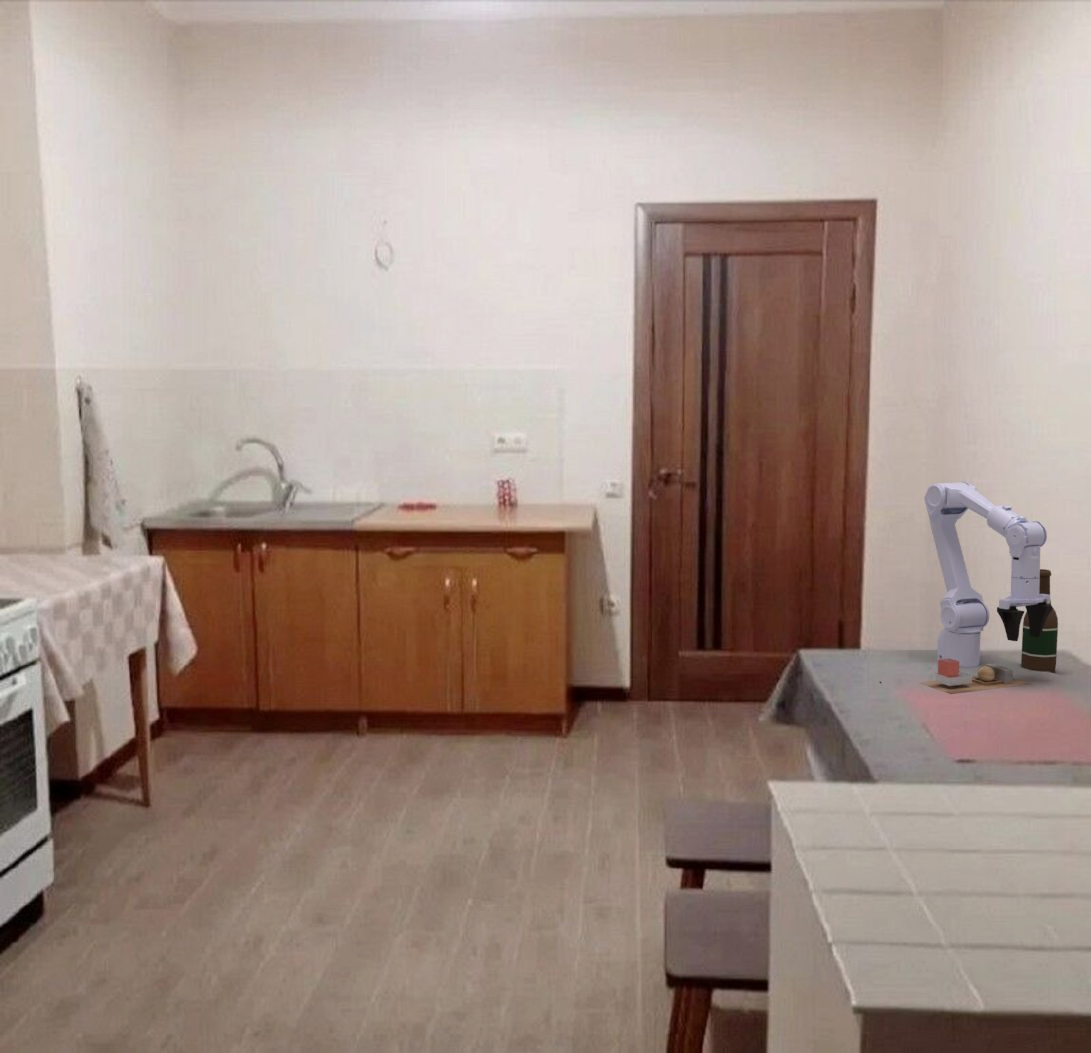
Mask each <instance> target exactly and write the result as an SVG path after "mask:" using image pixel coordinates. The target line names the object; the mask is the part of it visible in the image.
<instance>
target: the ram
mask: <svg viewBox="0 0 1091 1053" xmlns="http://www.w3.org/2000/svg"><path fill="white" fill-rule="evenodd" d="M937 662H938V663H937V672H935V677H934V679H935V680H934V681H936V682H939V683H942V684H945V685H948V686H955V685H963V684H971V683H972V676H973V675H972V674H969V673H966V672H963V671H960V666H959V661H957V660H953V659H950V658H948V659H939V660H938V661H937Z"/></svg>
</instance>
